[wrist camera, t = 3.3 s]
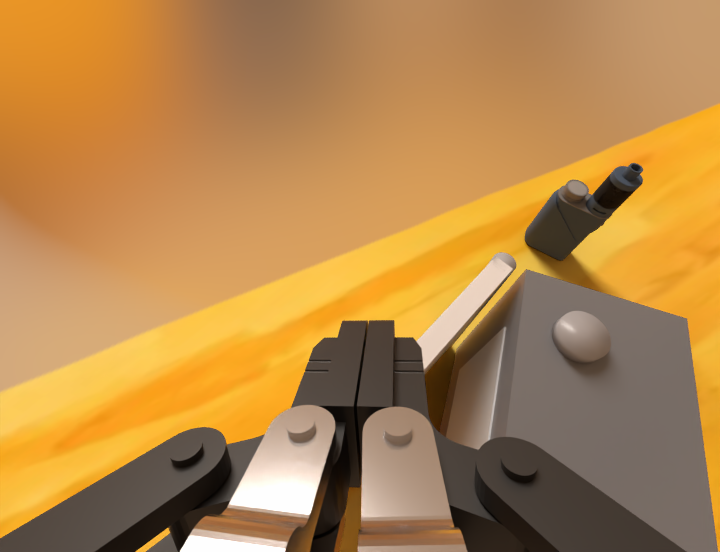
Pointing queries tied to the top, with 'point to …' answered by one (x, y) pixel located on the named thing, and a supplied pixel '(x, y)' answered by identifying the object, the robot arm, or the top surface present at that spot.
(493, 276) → the side door
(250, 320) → the top surface
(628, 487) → the block
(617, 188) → the vaping device
